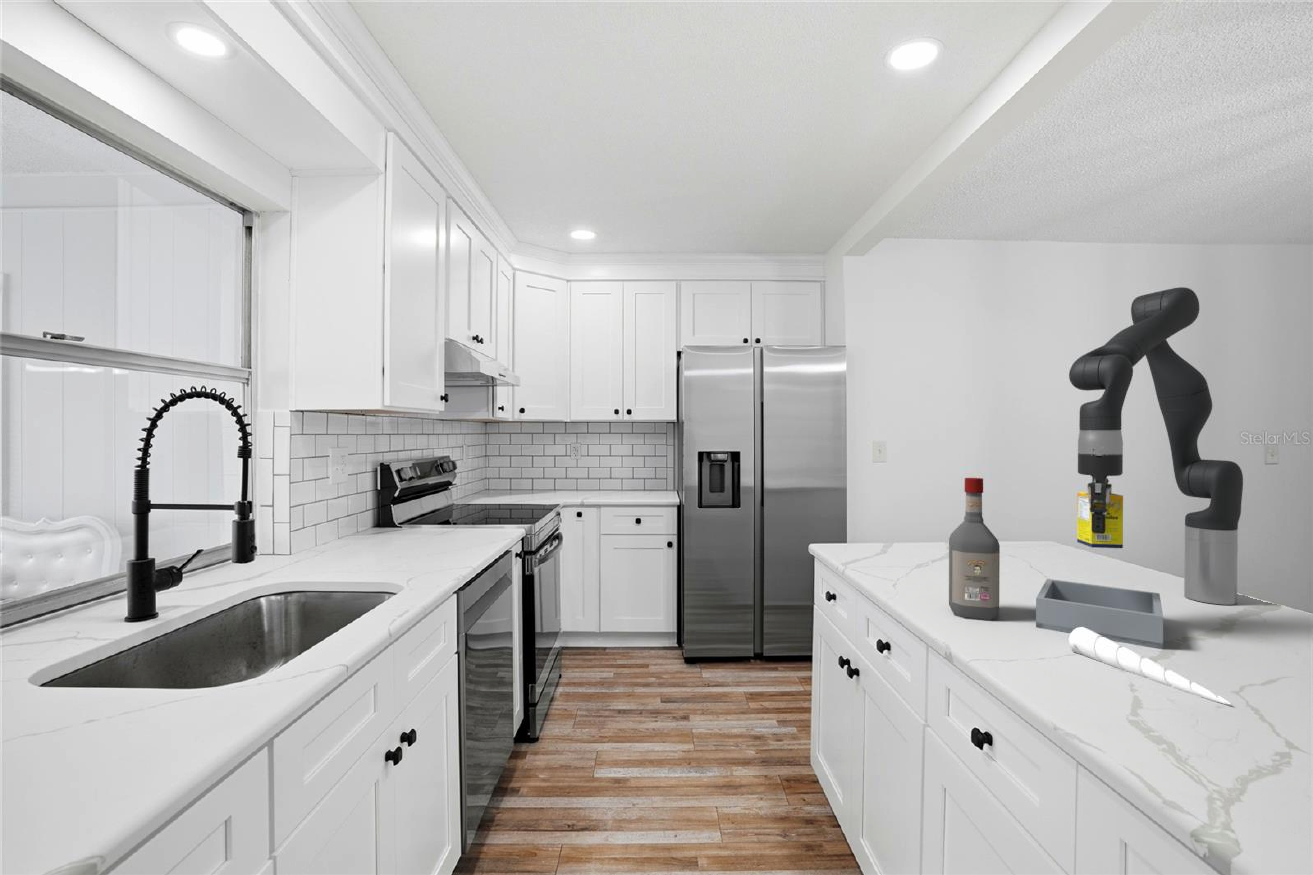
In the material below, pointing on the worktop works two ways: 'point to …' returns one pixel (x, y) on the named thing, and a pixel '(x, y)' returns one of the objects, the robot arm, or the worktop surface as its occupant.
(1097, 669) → the worktop surface
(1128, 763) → the worktop surface
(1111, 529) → the supplement box
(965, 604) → the liquor
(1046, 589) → the bin
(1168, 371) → the robot arm
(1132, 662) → the unicorn horn
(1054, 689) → the worktop surface
